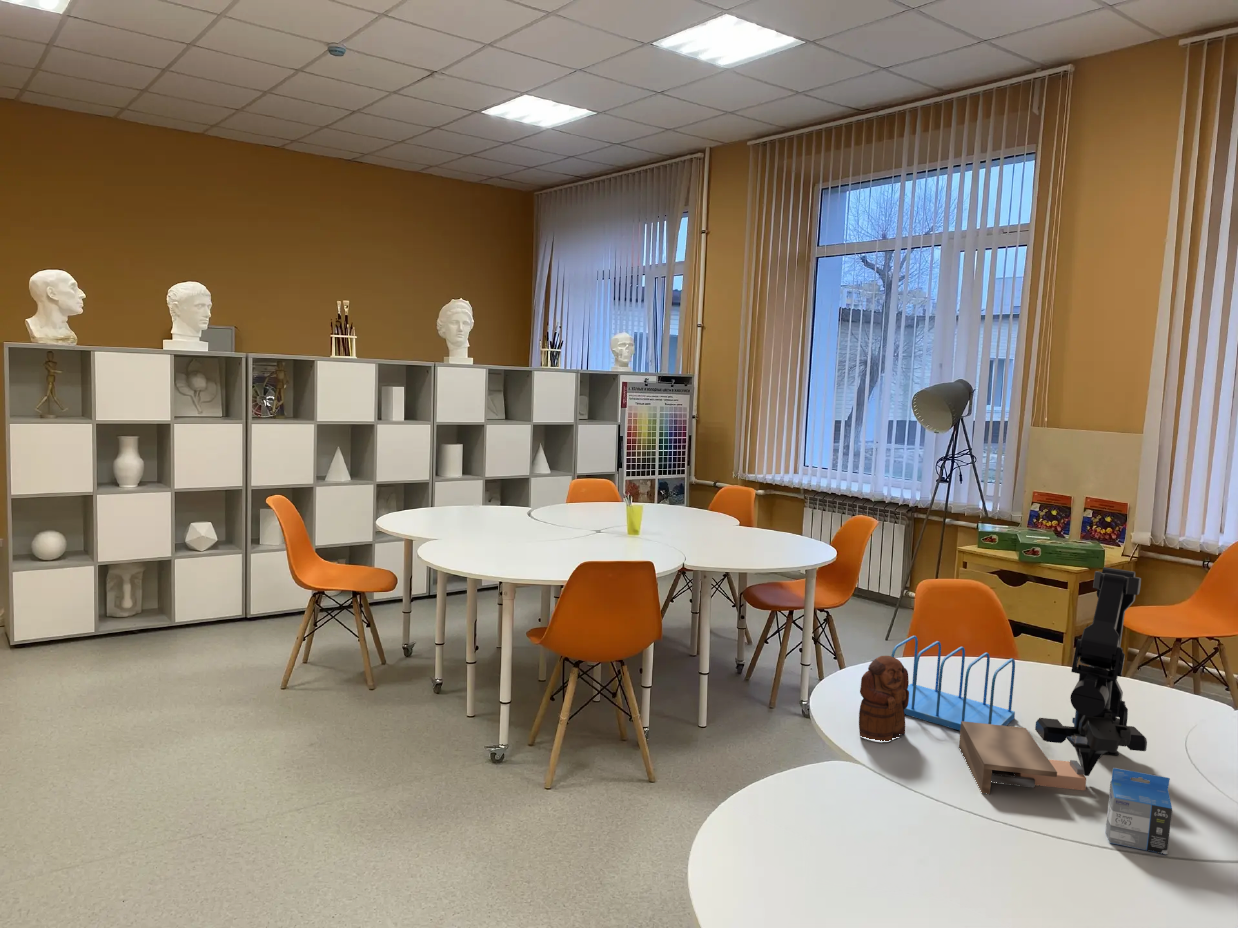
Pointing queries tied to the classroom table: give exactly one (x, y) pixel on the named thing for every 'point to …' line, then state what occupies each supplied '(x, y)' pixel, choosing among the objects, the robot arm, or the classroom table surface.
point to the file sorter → (950, 706)
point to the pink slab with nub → (1061, 776)
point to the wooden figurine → (883, 699)
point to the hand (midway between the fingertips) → (1085, 774)
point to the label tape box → (1139, 811)
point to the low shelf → (1002, 754)
